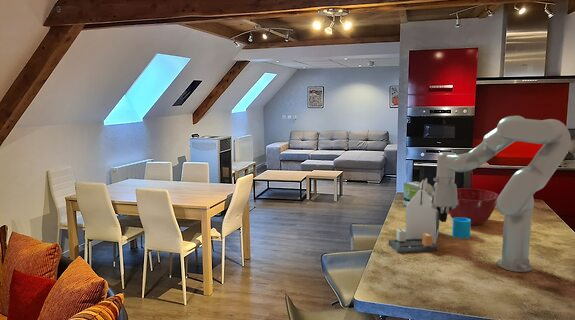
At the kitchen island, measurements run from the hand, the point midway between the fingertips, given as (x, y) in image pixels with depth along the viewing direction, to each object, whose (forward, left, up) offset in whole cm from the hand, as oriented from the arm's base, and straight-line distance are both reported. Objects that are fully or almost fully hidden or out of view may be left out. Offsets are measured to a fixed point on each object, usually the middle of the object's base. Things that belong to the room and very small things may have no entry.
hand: (442, 221), depth 204 cm
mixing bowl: (+40, -34, -13) cm, 54 cm away
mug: (+18, -19, -13) cm, 29 cm away
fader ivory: (+7, +16, -10) cm, 21 cm away
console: (+3, +12, -13) cm, 18 cm away
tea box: (+74, -19, -13) cm, 78 cm away
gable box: (+18, +1, -13) cm, 23 cm away
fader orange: (-1, +7, -10) cm, 13 cm away
